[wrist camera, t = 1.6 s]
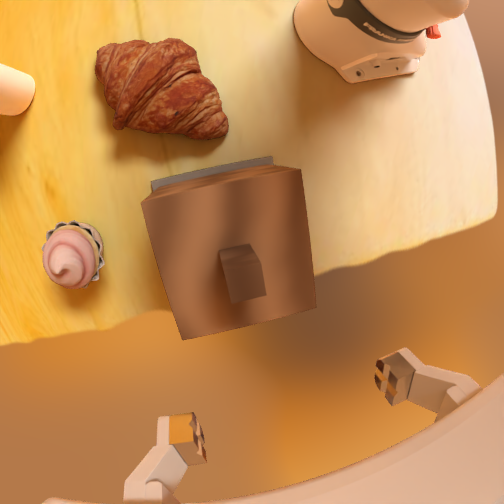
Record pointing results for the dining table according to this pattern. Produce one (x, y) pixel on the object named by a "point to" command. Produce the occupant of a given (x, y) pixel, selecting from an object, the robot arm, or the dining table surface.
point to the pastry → (160, 89)
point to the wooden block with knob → (232, 248)
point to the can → (15, 91)
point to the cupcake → (73, 254)
